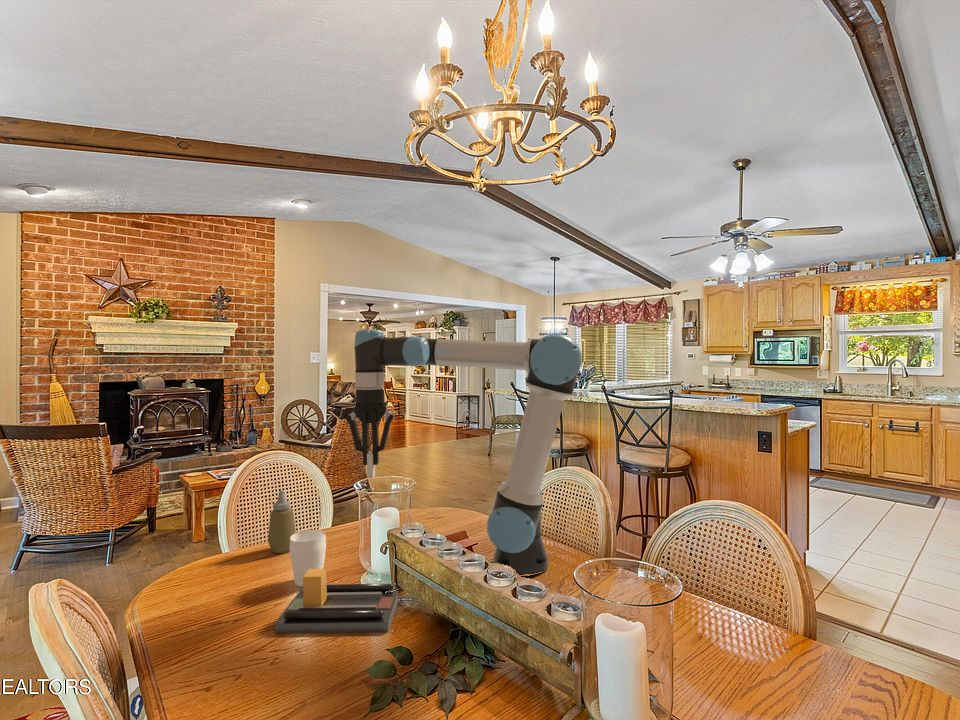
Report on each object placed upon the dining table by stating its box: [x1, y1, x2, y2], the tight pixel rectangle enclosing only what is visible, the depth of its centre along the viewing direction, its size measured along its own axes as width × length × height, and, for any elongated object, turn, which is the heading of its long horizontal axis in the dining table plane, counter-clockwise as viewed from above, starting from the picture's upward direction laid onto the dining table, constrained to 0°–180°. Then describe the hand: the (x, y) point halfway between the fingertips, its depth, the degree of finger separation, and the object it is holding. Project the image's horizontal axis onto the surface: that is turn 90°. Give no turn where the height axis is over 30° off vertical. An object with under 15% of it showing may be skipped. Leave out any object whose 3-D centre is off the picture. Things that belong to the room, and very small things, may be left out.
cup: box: [289, 529, 327, 588], centre depth 129 cm, size 9×9×12 cm
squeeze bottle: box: [267, 490, 297, 554], centre depth 150 cm, size 8×8×18 cm
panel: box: [274, 583, 399, 634], centre depth 113 cm, size 24×16×4 cm, turn 90°
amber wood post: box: [302, 568, 328, 606], centre depth 113 cm, size 4×4×7 cm
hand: (371, 476), depth 132 cm, fingers closed
